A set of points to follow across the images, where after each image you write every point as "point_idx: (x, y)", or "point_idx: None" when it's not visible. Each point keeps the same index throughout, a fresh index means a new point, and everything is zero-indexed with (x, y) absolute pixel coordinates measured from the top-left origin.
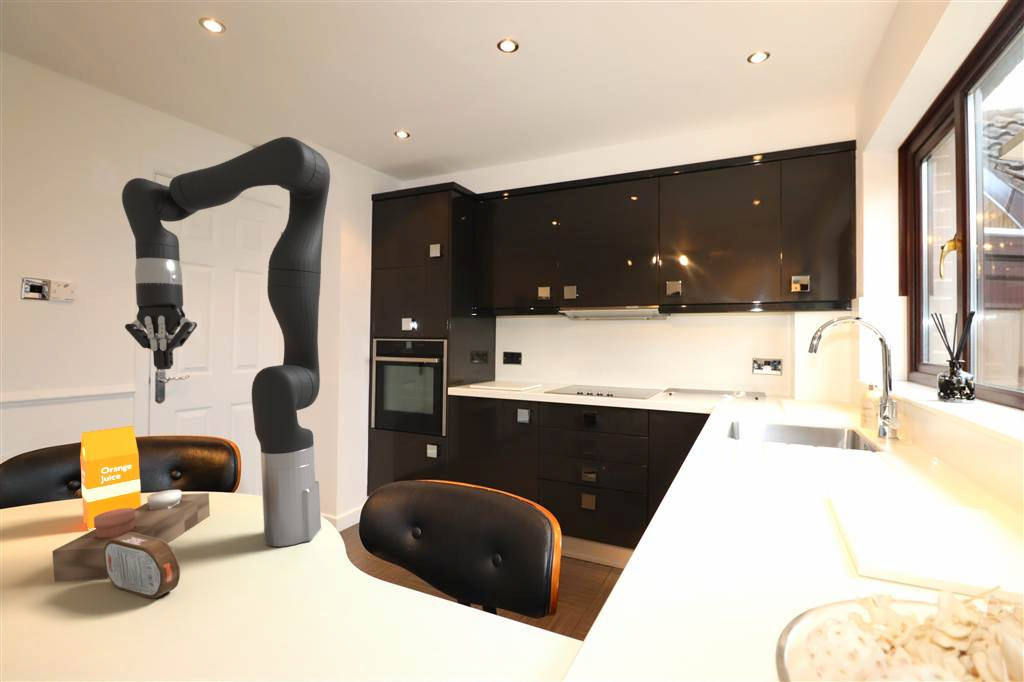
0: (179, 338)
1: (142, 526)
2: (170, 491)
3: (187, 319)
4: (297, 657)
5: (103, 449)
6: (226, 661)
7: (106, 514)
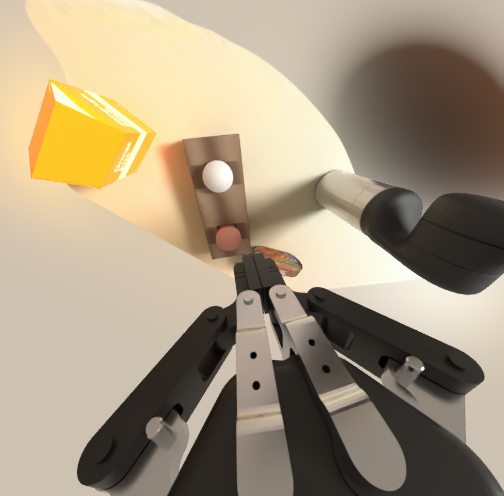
0: (350, 338)
1: (240, 224)
2: (216, 167)
3: (462, 421)
4: (354, 281)
5: (90, 166)
6: (333, 284)
7: (223, 241)
